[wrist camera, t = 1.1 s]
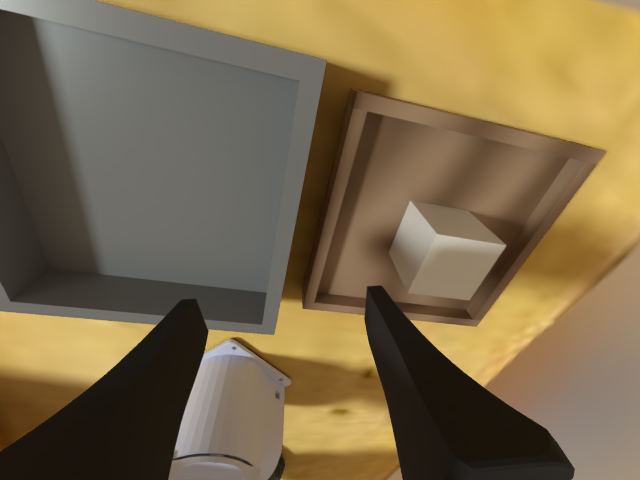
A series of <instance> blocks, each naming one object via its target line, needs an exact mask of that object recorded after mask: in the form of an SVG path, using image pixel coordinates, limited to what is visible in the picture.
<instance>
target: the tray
mask: <svg viewBox="0 0 640 480" xmlns="http://www.w3.org/2000/svg"><path fill="white" fill-rule="evenodd" d="M605 153H606V152H605V151H602V150H599V149H595V148H592V147H589V146H585V145H582V144H579V143H575V142H571V141H566V140H562V139H558V138H554V137H550V136H546V135H542V134H538V133H534V132H529V131H525V130H521V129H517V128H513V127H509V126H505V125H501V124H496V123H492V122H488V121H484V120H480V119H476V118H472V117H468V116H464V115H459V114H455V113H451V112H447V111H443V110H439V109H435V108H431V107H427V106H422V105H418V104H414V103H410V102H406V101H402V100H398V99H394V98H390V97H385V96H381V95H377V94H373V93H369V92H365V91H361V90H357V89H353V88H351V92H350V96H349V100H348V104H347V108H346V113H345V117H344V121H343V125H342V129H341V133H340V137H339V142H338V146H337V150H336V154H335V158H334V162H333V166H332V171H331V175H330V179H329V183H328V187H327V191H326V195H325V200H324V204H323V208H322V212H321V216H320V220H319V224H318V229H317V233H316V237H315V241H314V245H313V249H312V253H311V258H310V262H309V266H308V270H307V274H306V278H305V282H304V287H303V291H302V303H303V309H311V310H321V311H331V312H340V313H350V314H359V315H365V306H366V292H367V286H379V285H381V286H382V287H384V289H385V290H386V292H387V293H388V294H389V296H390V297H391V298H392V300H393V301H394V302H395V303H396V305H397V306H398V307H399V308H400V310H401V311H402V312H403V313H404V314H405V315H406V317H407V318H408V319H409V320H417V321H427V322H436V323H446V324H456V325H465V326H475V327H477V325H478V324H479V323H480V321H481V320H482V319H483V317H484V316H485V315H486V313H487V312H488V310H489V309H490V308H491V306H492V305H493V304H494V302H495V301H496V300H497V298H498V297H499V296H500V294H501V293H502V292H503V290H504V289H505V288H506V286H507V285H508V284H509V282H510V281H511V279H512V278H513V277H514V275H515V274H516V273H517V271H518V270H519V269H520V267H521V266H522V265H523V263H524V262H525V261H526V259H527V258H528V257H529V255H530V254H531V252H532V251H533V250H534V248H535V247H536V246H537V244H538V243H539V242H540V240H541V239H542V238H543V236H544V235H545V234H546V232H547V231H548V230H549V228H550V227H551V225H552V224H553V223H554V221H555V220H556V219H557V217H558V216H559V215H560V213H561V212H562V211H563V209H564V208H565V207H566V205H567V204H568V203H569V201H570V200H571V199H572V197H573V196H574V194H575V193H576V192H577V190H578V189H579V188H580V186H581V185H582V184H583V182H584V181H585V180H586V178H587V177H588V176H589V174H590V173H591V172H592V170H593V169H594V167H595V166H596V165H597V163H598V162H599V161H600V159H601V158H602V157H603V155H604V154H605ZM410 200H411V201H417V202H423V203H428V204H434V205H439V206H445V207H450V208H456V209H461V210H467V211H469V212H470V213H471V214H472V215H473V216H474V217H475V218H477V219H478V220H479V221H480V222H481V223H482V224H483V225H484V226H486V227H487V228H488V229H489V230H490V231H491V232H492V233H493V234H494V235H496V236H497V237H498V238H499V239H500V240H501V241H502V242H503V243H505V244H506V245H507V246H506V247H505V249H504V250H503V251H502V253H501V254H500V256H499V257H498V259H497V260H496V262H495V263H494V265H493V266H492V268H491V269H490V271H489V272H488V274H487V275H486V277H485V278H484V280H483V281H482V283H481V284H480V286H479V287H478V289H477V290H476V292H475V293H474V295H473V296H472V297H471V299H470V300H461V299H453V298H445V297H436V296H428V295H420V294H412V293H407V291H406V289H405V287H404V285H403V283H402V280H401V278H400V276H399V274H398V272H397V270H396V268H395V265H394V263H393V261H392V259H391V257H390V255H389V250H390V248H391V246H392V243H393V241H394V238H395V236H396V234H397V231H398V229H399V226H400V224H401V221H402V219H403V217H404V214H405V212H406V209H407V207H408V205H409V202H410Z"/></svg>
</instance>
